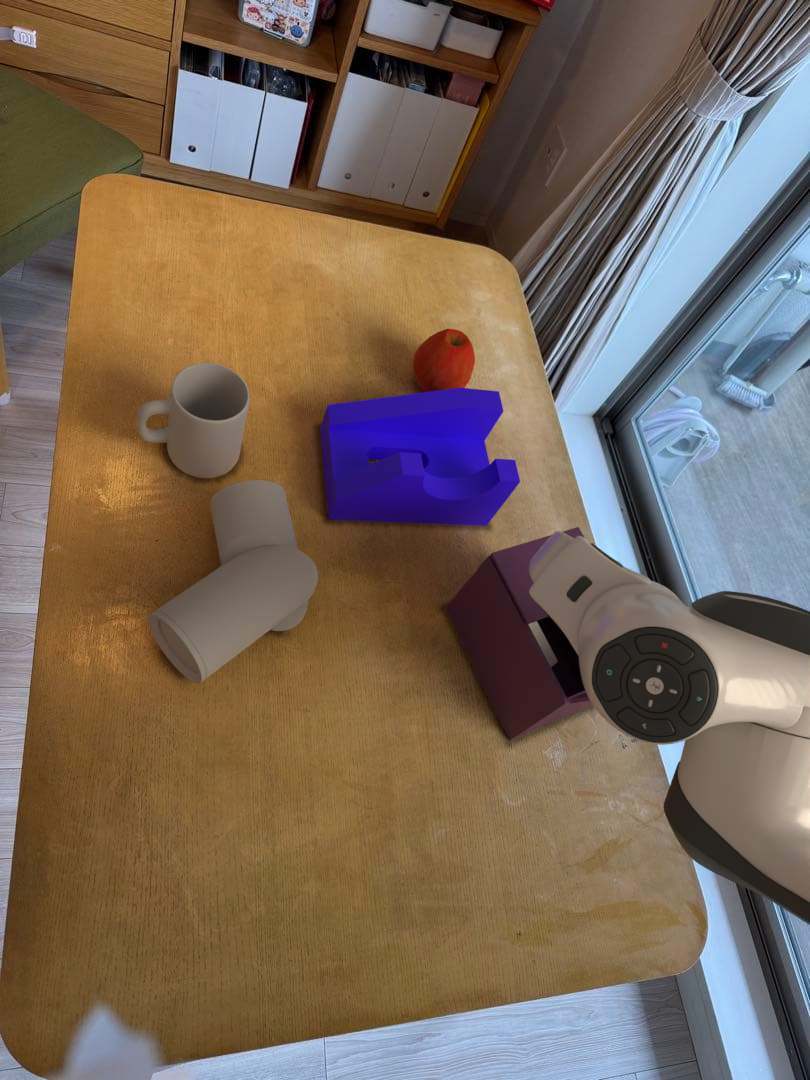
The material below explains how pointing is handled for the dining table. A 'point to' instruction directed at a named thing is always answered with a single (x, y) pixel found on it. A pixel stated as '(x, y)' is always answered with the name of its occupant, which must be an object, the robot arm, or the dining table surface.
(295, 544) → the elbow connector
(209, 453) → the mug
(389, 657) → the dining table surface
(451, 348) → the apple
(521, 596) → the carton
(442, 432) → the bracket
